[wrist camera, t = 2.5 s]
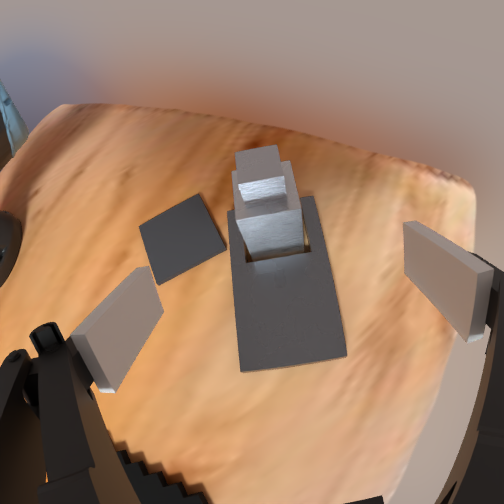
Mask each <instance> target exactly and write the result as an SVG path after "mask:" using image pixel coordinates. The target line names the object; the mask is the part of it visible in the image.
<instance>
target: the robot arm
mask: <svg viewBox="0 0 504 504" xmlns="http://www.w3.org/2000/svg"><path fill="white" fill-rule="evenodd" d="M28 134H29V132H28V128H27V126H26V124H25V122H24V121H23V119H22V118H21V116H20V114H19V112H18V110H17V109H16V107H15V105H14V103H13V102H12V100H11V98H10V96H9V94H8V93H7V91H6V89H5V87H4V85H3V83H2V82H1V80H0V171H1V169H2V168H3V167H4V166H5V165H6V164H7V163H8V162H9V161H10V159H11V158H14V156H15V153H16V152H17V151H18V150H19V149H20V148H21V146H22V145H23V144H24V143H25V142H26V140H27V138H28ZM403 235H404V273H405V274H406V275H407V277H408V278H409V279H410V280H411V281H412V282H413V283H414V284H415V285H416V286H417V287H418V288H419V289H420V290H421V291H422V293H423V294H424V295H425V296H426V297H427V298H428V299H429V300H430V301H431V302H432V303H433V305H434V306H435V307H436V308H437V309H438V310H439V311H440V312H441V314H442V315H443V316H444V317H445V318H446V319H447V320H448V322H449V323H450V324H451V325H452V326H453V327H454V329H455V330H456V331H457V332H458V333H459V335H460V336H461V337H462V338H463V339H464V340H465V342H466V343H470V342H473V341H475V340H479V339H481V338H483V333H484V329H485V325H486V324H487V325H488V326H489V327H490V328H491V332H490V337H489V341H488V345H487V349H486V353H485V354H486V359H485V364H484V369H483V374H482V378H481V382H480V386H479V390H478V394H477V398H476V402H475V405H474V408H473V412H472V415H471V418H470V422H469V425H468V428H467V431H466V434H465V437H464V439H463V442H462V445H461V448H460V450H459V453H458V455H457V458H456V460H455V463H454V466H453V468H452V470H451V472H450V475H449V477H448V479H447V481H446V483H445V486H444V488H443V490H442V492H441V493H440V495H439V497H438V499H437V500H436V502H435V504H504V272H503V271H501V270H499V269H498V268H497V267H495V266H494V265H492V264H491V263H489V262H488V261H486V260H483V258H481V257H480V256H478V255H477V254H474V253H471V252H468V251H466V250H464V249H463V248H461V247H460V246H458V245H456V244H455V243H453V242H452V241H450V240H448V239H447V238H445V237H443V236H442V235H440V234H438V233H437V232H435V231H433V230H431V229H430V228H428V227H426V226H425V225H423V224H421V223H419V222H417V221H410V222H404V223H403ZM21 236H22V228H21V224H20V221H19V220H18V219H17V218H16V217H15V216H13V215H12V214H11V213H9V212H7V211H0V287H1V286H2V284H3V283H4V282H5V280H6V279H7V277H8V275H9V273H10V271H11V269H12V267H13V265H14V263H15V260H16V258H17V255H18V251H19V248H20V243H21ZM163 313H164V310H163V307H162V305H161V302H160V299H159V296H158V293H157V290H156V287H155V284H154V281H153V277H152V274H151V271H150V268H149V266H145V267H139V268H136V269H135V270H134V271H133V272H132V273H131V274H130V275H129V276H128V277H127V278H126V279H124V280H123V281H122V282H121V283H120V284H119V285H118V286H117V287H116V288H115V289H114V290H113V291H112V292H111V293H110V294H109V295H108V296H107V297H106V298H105V299H104V300H103V301H102V302H101V303H100V304H99V305H98V306H97V307H96V308H95V309H94V310H93V311H92V312H91V313H90V314H89V315H88V316H87V317H86V318H85V320H84V321H83V322H82V323H81V324H80V325H79V326H78V327H77V328H76V329H75V330H74V331H73V332H72V333H71V334H70V337H69V338H68V339H67V340H66V341H65V340H64V338H63V336H62V334H61V332H60V330H59V328H58V326H57V324H56V323H55V322H49V323H46V324H43V325H41V326H39V327H37V328H36V329H34V330H33V331H32V332H31V333H30V336H29V337H30V339H31V341H32V343H33V345H34V347H35V349H36V351H37V352H38V354H39V356H38V357H37V358H33V359H31V358H30V356H29V354H28V353H27V351H26V350H25V349H19V350H17V351H16V350H15V351H13V352H11V353H10V354H9V355H8V356H7V357H6V358H5V360H4V361H3V363H2V365H1V367H0V504H141V502H140V501H139V499H138V497H137V495H136V493H135V491H134V489H133V487H132V485H131V483H130V481H129V479H128V477H127V475H126V473H125V471H124V469H123V467H122V464H121V462H120V460H119V458H118V455H117V453H116V451H115V449H114V446H113V444H112V441H111V439H110V436H109V434H108V431H107V429H106V426H105V424H104V421H103V418H102V415H101V413H100V410H99V407H98V404H97V401H96V398H95V395H94V393H93V391H92V390H91V388H90V386H91V384H92V383H93V381H94V382H95V384H96V385H97V387H98V389H99V390H100V392H106V393H116V391H117V390H118V388H119V386H120V384H121V383H122V381H123V379H124V378H125V376H126V374H127V372H128V371H129V369H130V367H131V366H132V364H133V362H134V360H135V359H136V357H137V355H138V354H139V352H140V350H141V349H142V347H143V345H144V344H145V342H146V340H147V339H148V337H149V336H150V334H151V332H152V331H153V329H154V327H155V326H156V324H157V322H158V321H159V319H160V318H161V316H162V314H163ZM24 398H25V399H24ZM25 400H26V401H27V402H26V401H25ZM46 472H47V477H48V482H47V483H46ZM345 504H384V502H383V497H382V495H381V496H377V497H373V498H369V499H365V500H360V501H355V502H350V503H345Z"/></svg>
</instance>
